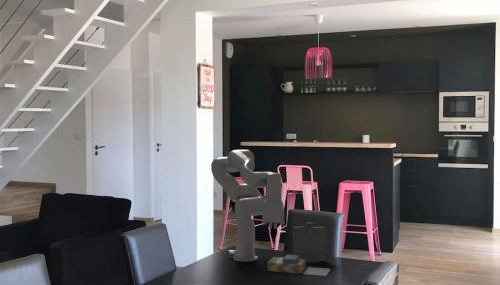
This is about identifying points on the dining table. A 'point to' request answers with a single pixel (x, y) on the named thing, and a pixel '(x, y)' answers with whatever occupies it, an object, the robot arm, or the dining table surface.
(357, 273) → the dining table surface
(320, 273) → the mat
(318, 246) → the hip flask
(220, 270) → the dining table surface
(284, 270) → the deck
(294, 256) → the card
